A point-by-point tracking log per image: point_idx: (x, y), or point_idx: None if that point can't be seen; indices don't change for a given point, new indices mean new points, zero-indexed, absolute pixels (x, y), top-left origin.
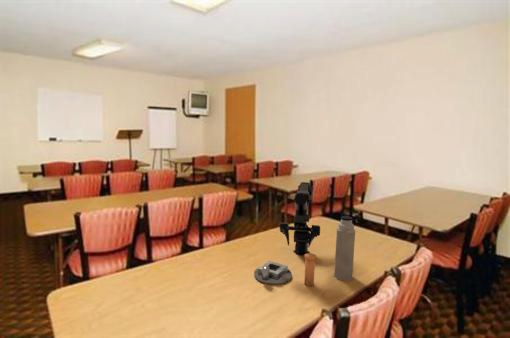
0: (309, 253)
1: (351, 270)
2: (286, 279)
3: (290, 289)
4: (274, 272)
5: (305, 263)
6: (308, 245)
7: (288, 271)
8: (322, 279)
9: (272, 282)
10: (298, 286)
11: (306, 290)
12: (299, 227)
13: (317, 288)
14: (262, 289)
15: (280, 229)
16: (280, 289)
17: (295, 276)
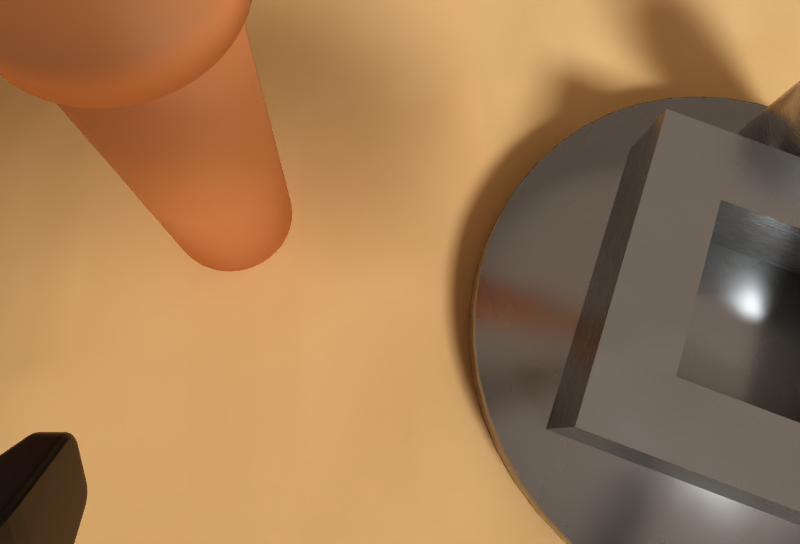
0: (94, 42)
1: None
2: (525, 190)
3: (447, 53)
4: (722, 149)
5: (246, 33)
6: (48, 453)
7: (533, 436)
8: (35, 380)
9: (675, 101)
10: (362, 132)
11: (267, 63)
12: None
13: None
14: (735, 3)
15: None
16: (554, 35)
17: (418, 385)
